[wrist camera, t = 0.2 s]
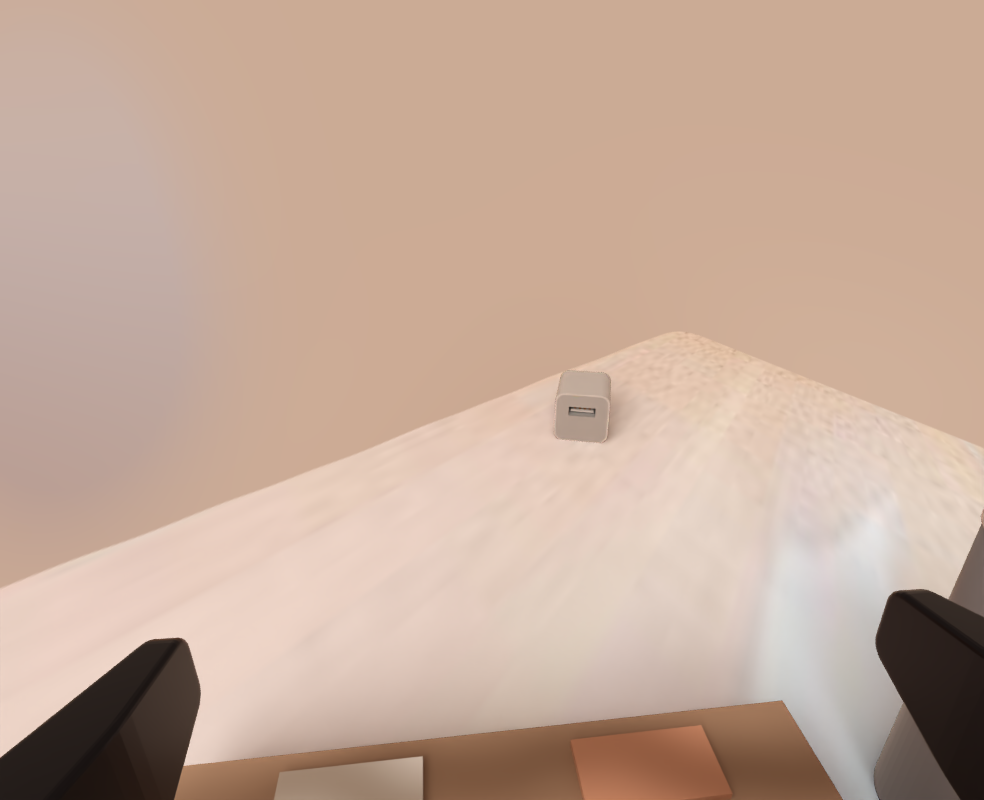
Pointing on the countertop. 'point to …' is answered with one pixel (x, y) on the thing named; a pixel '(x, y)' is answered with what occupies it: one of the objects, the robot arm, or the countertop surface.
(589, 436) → the usb wall charger
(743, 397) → the countertop surface
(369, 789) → the socket plate
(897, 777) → the grey cylinder
